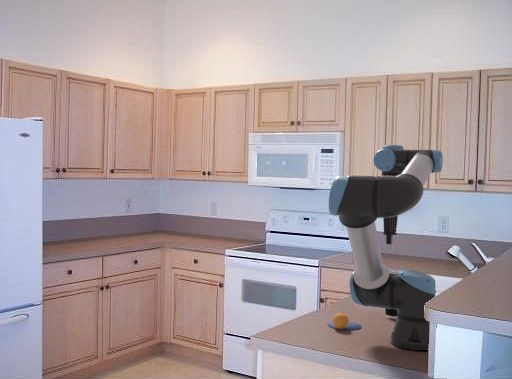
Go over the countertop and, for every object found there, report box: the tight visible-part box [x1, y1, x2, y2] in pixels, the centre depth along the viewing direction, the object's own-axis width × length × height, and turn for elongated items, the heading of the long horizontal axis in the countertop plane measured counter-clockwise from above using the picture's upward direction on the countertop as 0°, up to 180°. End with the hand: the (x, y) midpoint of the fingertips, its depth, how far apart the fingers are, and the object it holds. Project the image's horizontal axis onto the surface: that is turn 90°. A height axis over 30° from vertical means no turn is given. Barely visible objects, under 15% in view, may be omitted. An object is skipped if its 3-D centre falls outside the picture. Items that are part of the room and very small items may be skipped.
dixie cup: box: [384, 308, 397, 320], centre depth 218 cm, size 8×8×11 cm
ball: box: [332, 312, 350, 330], centre depth 199 cm, size 6×6×6 cm
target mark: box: [327, 321, 362, 331], centre depth 203 cm, size 12×12×1 cm
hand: (389, 252), depth 206 cm, fingers closed
